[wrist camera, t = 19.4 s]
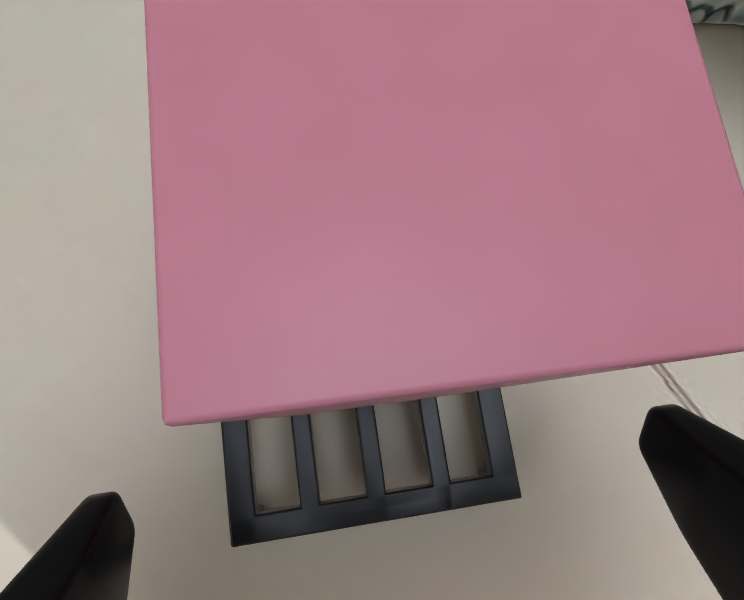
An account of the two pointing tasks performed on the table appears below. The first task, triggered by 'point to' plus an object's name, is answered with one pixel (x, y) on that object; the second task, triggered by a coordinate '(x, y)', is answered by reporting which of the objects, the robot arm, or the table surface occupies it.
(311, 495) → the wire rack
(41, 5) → the table surface
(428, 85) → the pink box
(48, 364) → the table surface
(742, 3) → the elephant cookie jar
